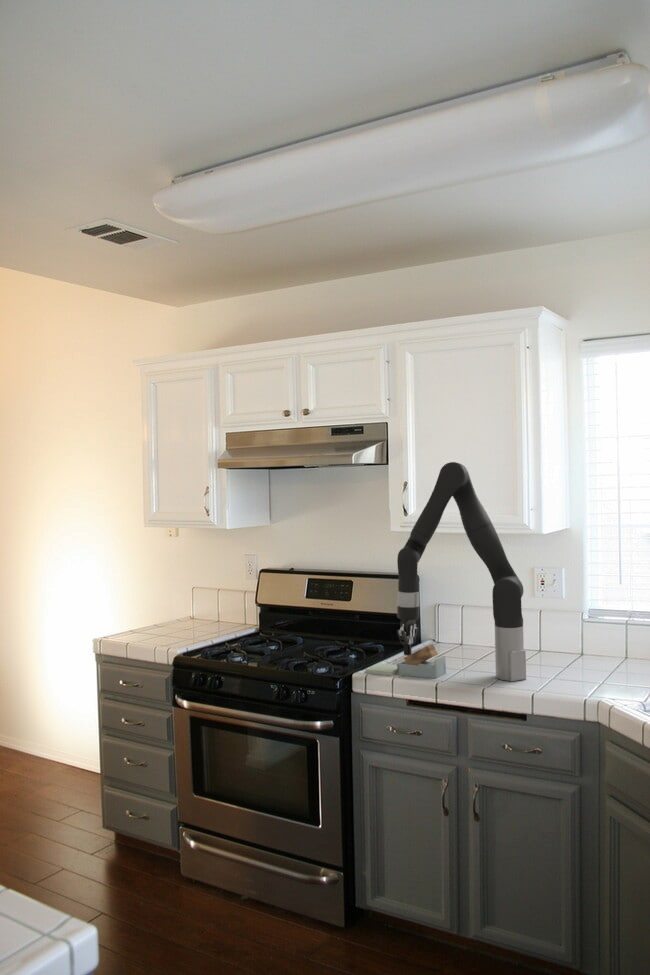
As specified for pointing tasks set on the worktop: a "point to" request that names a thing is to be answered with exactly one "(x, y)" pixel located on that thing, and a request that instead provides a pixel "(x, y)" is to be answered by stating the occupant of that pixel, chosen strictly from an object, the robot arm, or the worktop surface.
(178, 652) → the worktop surface
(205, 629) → the worktop surface
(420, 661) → the walnut bar
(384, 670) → the plate
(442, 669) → the pale blue tray
